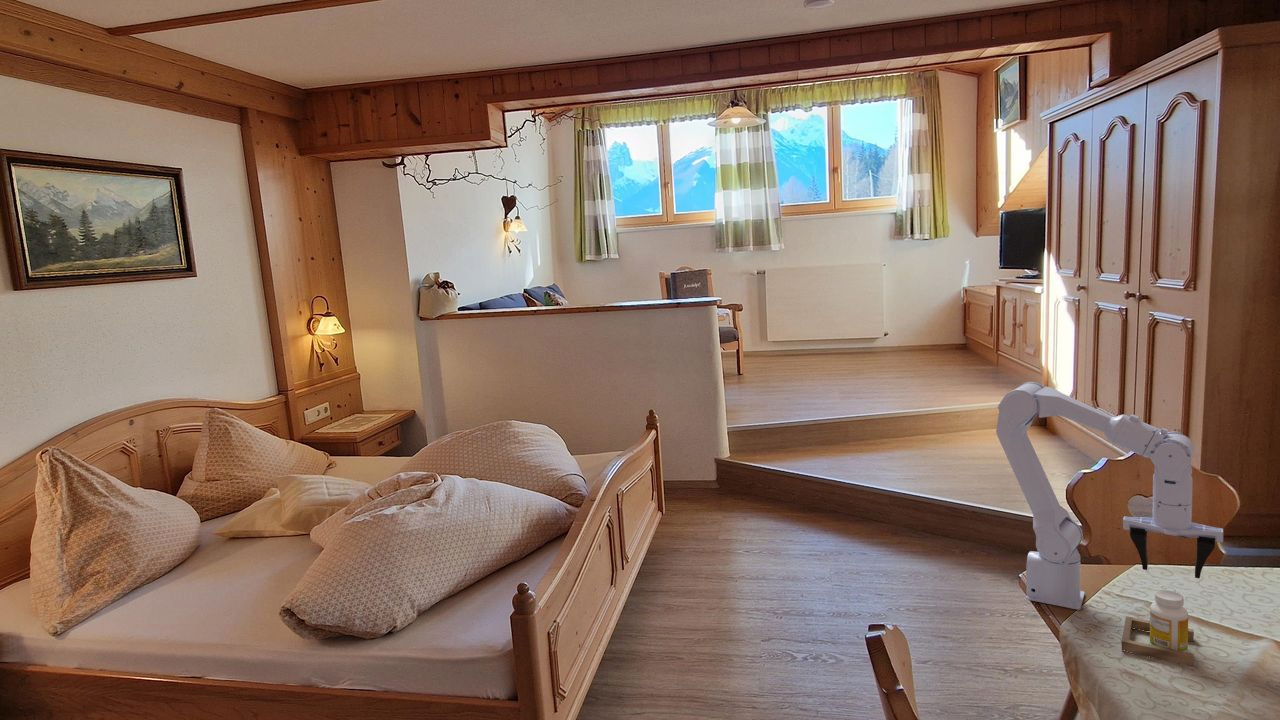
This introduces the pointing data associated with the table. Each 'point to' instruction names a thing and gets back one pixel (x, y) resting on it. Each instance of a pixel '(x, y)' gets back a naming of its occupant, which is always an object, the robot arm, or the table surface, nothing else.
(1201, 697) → the table surface
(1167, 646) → the supplement bottle
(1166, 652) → the wooden frame
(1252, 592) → the table surface
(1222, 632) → the table surface
